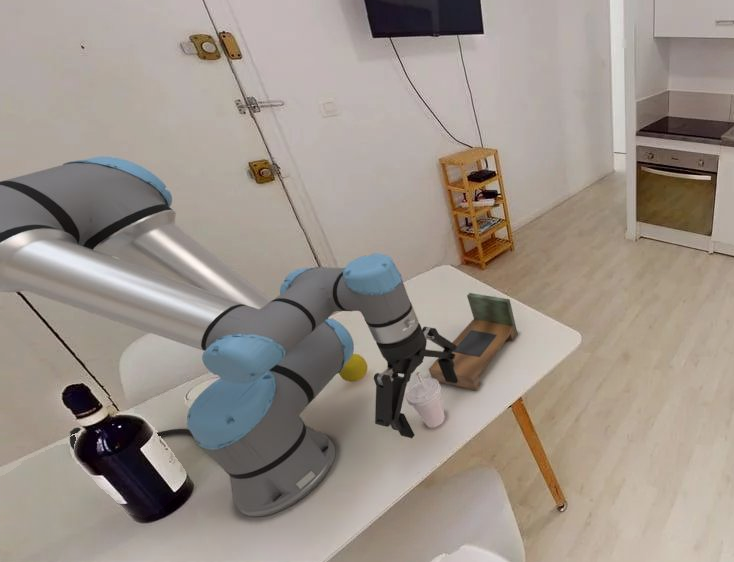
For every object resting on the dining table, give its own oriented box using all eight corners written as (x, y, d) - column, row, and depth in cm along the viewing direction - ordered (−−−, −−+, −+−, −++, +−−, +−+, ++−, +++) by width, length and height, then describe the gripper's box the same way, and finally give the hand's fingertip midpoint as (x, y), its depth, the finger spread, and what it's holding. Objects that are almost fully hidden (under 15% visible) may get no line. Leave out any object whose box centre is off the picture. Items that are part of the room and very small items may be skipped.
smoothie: (456, 408, 91) (439, 363, 84) (441, 434, 86) (422, 389, 79) (429, 406, 92) (410, 362, 85) (413, 432, 86) (391, 387, 79)
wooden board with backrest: (432, 380, 98) (418, 344, 92) (479, 326, 114) (469, 292, 108) (476, 390, 95) (463, 353, 89) (517, 333, 111) (509, 299, 105)
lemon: (359, 390, 96) (346, 366, 92) (340, 387, 97) (326, 363, 93) (377, 372, 101) (365, 348, 97) (358, 369, 102) (346, 345, 98)
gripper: (357, 389, 65) (401, 467, 75) (457, 293, 85) (480, 364, 96) (321, 380, 66) (369, 458, 77) (427, 288, 87) (453, 359, 98)
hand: (431, 406), depth 86 cm, fingers open, 13 cm apart
